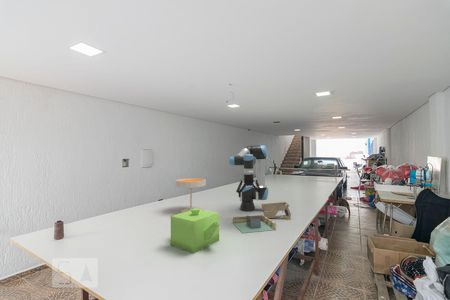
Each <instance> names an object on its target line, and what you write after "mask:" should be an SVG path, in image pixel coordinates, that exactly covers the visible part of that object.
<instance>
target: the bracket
mask: <svg viewBox="0 0 450 300" xmlns="http://www.w3.org/2000/svg"><path fill="white" fill-rule="evenodd" d="M251 216H252V215H246V225H247V226H249V227H250V228H251V229H253V228H261V218H252V217H251Z"/></svg>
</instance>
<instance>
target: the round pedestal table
mask: <svg viewBox="0 0 450 300" xmlns="http://www.w3.org/2000/svg"><path fill="white" fill-rule="evenodd" d="M206 185H207V179H205V178H202V177H201V178H200V177H199V178H198V177H193V178H191V177H188V178H177V179H175V187H176V188H189V206H190V208H185V209H182V210H180V213H184V212H187V211H191V209H193V208H194V207H192V206H193V205H192V204H193V196H192V195H193V194H192V192H193V190H192V189H193V188H199V187H200V188H201V187H206Z"/></svg>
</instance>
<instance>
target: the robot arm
mask: <svg viewBox="0 0 450 300" xmlns="http://www.w3.org/2000/svg"><path fill="white" fill-rule="evenodd" d="M267 158H268V149H267V146H266V145H262V144H260V145H259V144H257V145H248V146H245V147H243V148H242V149H241V150H240V152H238V153H237V154H236V155H233V156H230V157H229V159H228V162H229V164H230V166H243V180H241V179H240V181H239V184H238V186H237V188H236V191H235V193H237V194H238V198H239V202H240V207H239V210H240V211H244V212H254V211H255V210H256V206H255V203H254V200H256V201H267V199H268V195H269V188H268V187H267V186H268V185H266V170H265V167H266V166H265V161H266V160H267ZM254 165H255V177H256V178H255V177H254ZM254 178H255V179H254Z"/></svg>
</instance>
